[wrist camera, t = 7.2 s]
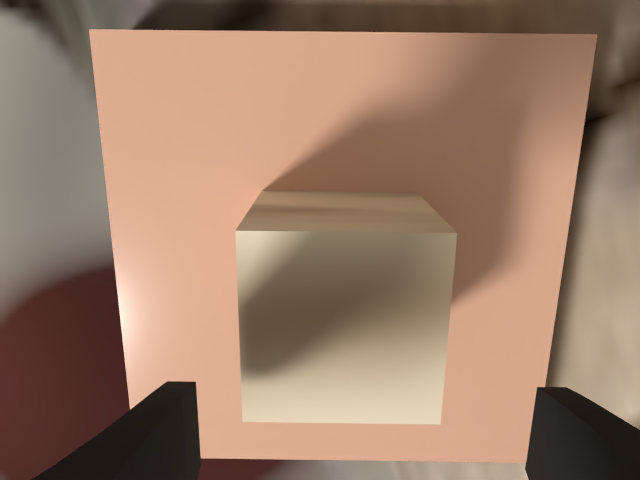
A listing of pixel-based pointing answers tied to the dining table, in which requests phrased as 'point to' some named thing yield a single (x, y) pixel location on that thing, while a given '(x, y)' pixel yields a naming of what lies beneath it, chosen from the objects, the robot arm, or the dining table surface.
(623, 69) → the dining table surface
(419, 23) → the dining table surface
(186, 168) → the terracotta base
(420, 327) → the birch block
